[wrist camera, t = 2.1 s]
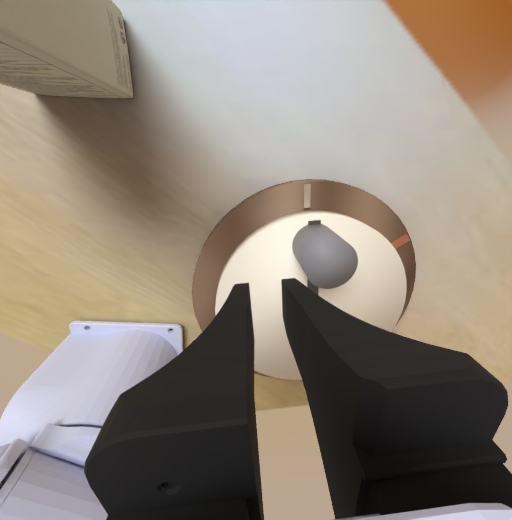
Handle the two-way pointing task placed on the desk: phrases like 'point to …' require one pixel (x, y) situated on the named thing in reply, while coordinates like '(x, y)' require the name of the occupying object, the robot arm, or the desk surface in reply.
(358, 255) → the dial
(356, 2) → the desk surface
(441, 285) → the desk surface
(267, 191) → the dial base
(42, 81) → the skincare box
